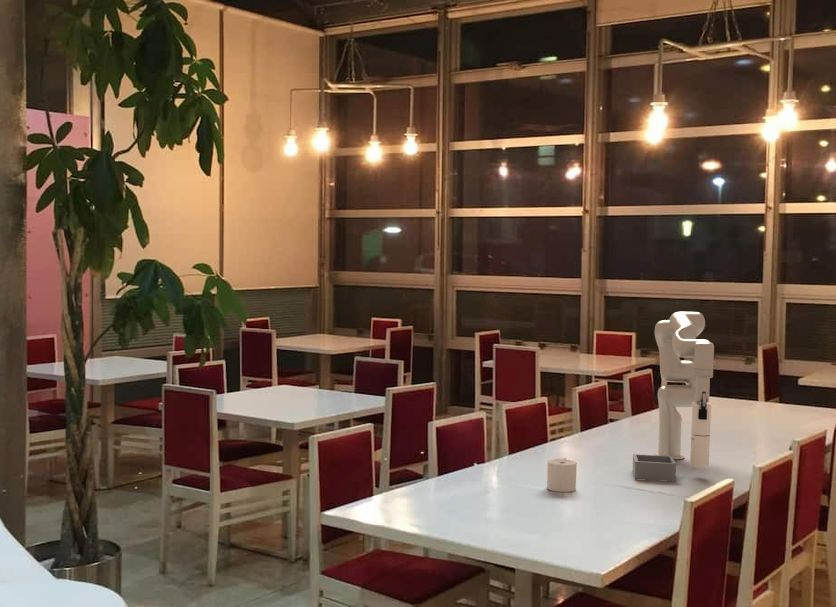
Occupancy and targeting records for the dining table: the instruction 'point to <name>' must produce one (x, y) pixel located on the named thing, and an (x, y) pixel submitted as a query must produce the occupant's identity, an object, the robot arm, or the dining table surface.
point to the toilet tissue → (561, 475)
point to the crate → (654, 467)
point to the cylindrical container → (700, 437)
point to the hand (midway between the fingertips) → (701, 417)
